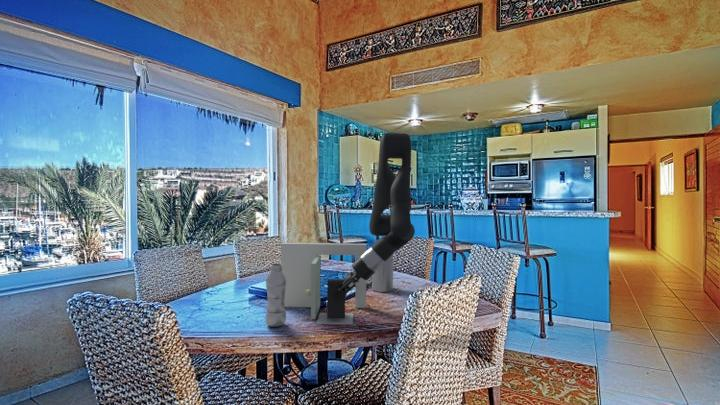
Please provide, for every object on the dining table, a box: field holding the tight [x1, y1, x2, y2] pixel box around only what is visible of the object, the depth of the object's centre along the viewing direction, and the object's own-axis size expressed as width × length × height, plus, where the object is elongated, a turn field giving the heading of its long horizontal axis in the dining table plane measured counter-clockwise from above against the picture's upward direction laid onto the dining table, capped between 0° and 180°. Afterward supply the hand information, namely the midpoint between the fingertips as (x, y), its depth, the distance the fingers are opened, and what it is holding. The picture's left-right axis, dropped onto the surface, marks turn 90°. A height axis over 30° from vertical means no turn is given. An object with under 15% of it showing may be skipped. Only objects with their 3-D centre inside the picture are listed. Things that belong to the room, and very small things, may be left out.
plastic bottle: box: [264, 263, 287, 328], centre depth 124 cm, size 6×7×20 cm
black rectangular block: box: [326, 278, 346, 318], centre depth 131 cm, size 9×6×12 cm, turn 3°
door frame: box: [280, 242, 368, 325], centre depth 135 cm, size 19×32×24 cm, turn 89°
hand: (333, 298), depth 131 cm, fingers closed on black rectangular block, 3 cm apart
